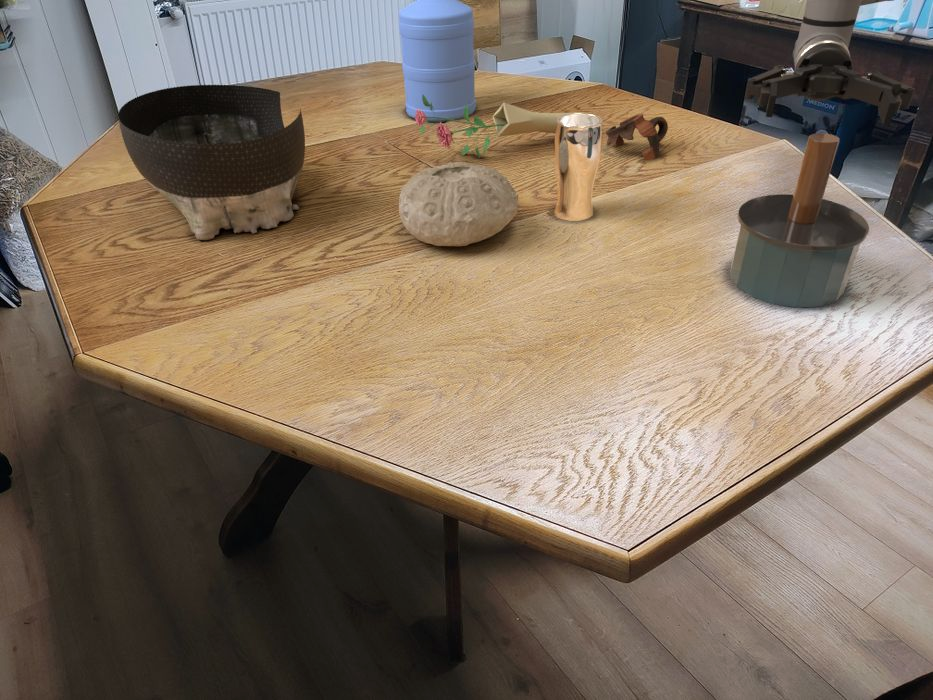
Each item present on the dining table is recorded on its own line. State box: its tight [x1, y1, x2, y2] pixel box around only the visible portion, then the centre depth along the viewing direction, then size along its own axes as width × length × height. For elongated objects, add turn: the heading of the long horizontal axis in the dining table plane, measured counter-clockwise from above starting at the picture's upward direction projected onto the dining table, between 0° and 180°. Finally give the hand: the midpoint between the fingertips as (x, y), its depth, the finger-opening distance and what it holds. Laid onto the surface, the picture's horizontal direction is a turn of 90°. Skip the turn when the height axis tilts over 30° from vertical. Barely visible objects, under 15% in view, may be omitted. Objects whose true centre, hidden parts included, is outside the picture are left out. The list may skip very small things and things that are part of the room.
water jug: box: [398, 0, 477, 123], centre depth 145 cm, size 16×16×28 cm
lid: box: [737, 132, 870, 251], centre depth 81 cm, size 15×15×11 cm
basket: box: [117, 84, 306, 241], centre depth 112 cm, size 28×35×16 cm
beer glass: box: [553, 112, 603, 222], centre depth 103 cm, size 7×7×15 cm
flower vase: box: [415, 95, 585, 159], centre depth 129 cm, size 12×12×35 cm
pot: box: [729, 223, 861, 309], centre depth 87 cm, size 14×14×8 cm
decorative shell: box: [398, 161, 519, 247], centre depth 101 cm, size 18×18×10 cm
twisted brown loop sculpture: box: [605, 113, 669, 162], centre depth 127 cm, size 12×9×8 cm
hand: (829, 110), depth 86 cm, fingers open, 13 cm apart
